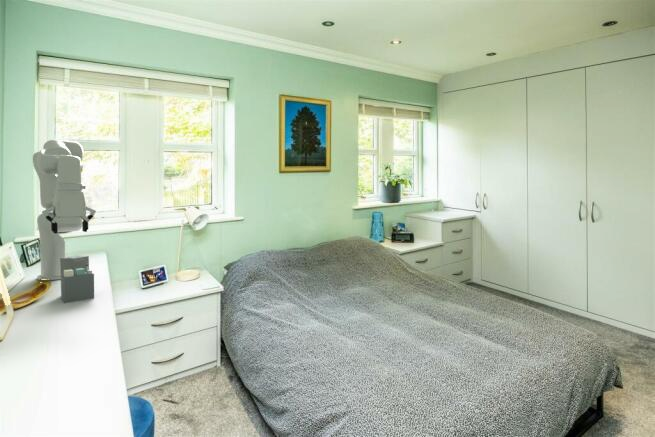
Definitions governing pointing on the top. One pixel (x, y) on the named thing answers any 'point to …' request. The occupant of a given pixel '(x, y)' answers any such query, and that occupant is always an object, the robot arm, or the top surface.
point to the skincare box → (73, 263)
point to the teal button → (79, 271)
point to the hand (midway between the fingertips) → (70, 232)
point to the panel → (77, 287)
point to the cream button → (68, 273)
